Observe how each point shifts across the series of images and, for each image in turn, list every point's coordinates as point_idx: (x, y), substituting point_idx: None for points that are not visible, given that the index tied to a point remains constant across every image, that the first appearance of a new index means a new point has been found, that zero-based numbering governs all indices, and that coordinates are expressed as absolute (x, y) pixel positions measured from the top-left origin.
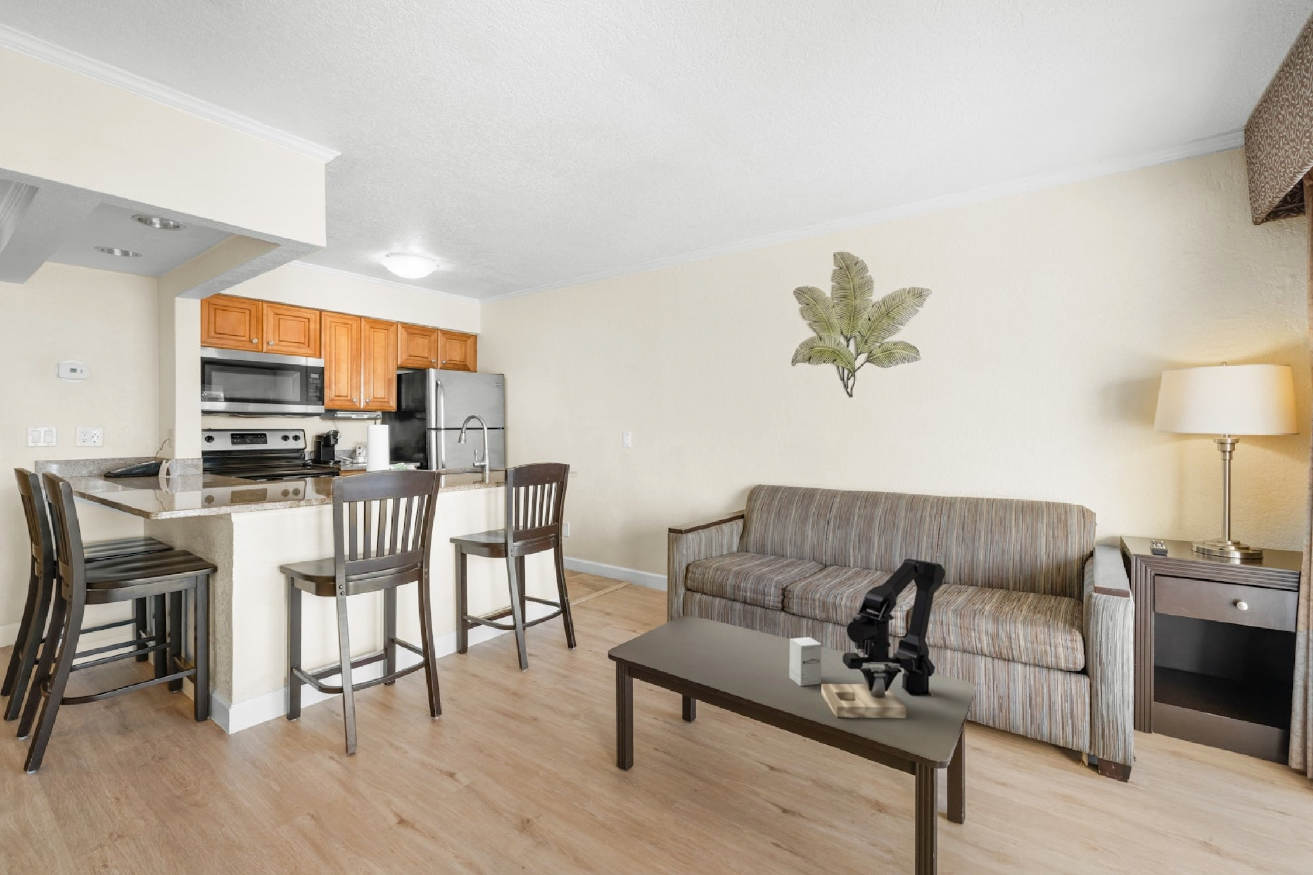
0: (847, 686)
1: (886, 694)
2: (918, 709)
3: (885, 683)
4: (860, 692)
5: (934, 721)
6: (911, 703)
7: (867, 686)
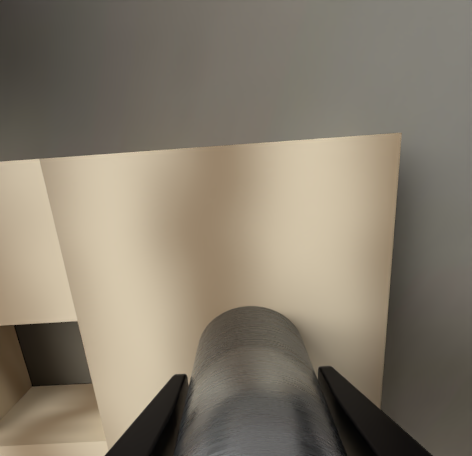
0: (35, 214)
1: (323, 336)
2: (462, 334)
3: (349, 451)
4: (128, 320)
5: (466, 442)
6: (466, 264)
7: (156, 402)
